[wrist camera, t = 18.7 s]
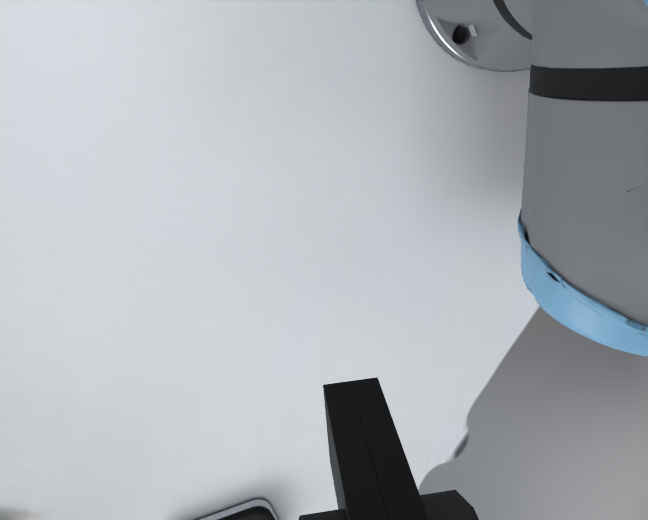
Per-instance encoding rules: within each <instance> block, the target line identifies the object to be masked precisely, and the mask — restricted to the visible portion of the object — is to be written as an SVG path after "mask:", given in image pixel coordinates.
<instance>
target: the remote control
mask: <svg viewBox="0 0 648 520" xmlns="http://www.w3.org/2000/svg"><path fill="white" fill-rule="evenodd" d="M199 520H278V518H277V516H276V515H275V513H274V511H273V509H272V508H271V506H270V504H269V503H268V502H266V501H265V500H261V499H256V500H252V501H249V502H247V503H244V504H241V505H238V506H235V507H233V508H230V509H227V510H224V511H222V512H219V513H216V514H213V515H210V516H208V517H205V518H202V519H199Z"/></svg>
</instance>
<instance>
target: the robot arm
mask: <svg viewBox="0 0 648 520" xmlns="http://www.w3.org/2000/svg"><path fill="white" fill-rule="evenodd" d="M416 3H417V6H418V9H419V12H420V15H421V17H422V19H423V22H424V23H425V25H426V27H427V29H428V31H429V32H430V34H431V35H432V36H433V38H434V39H435V40H436V42H437V43H438V44H439V45H440V46H441V47H442V48H443V49H444V50H445V51H446V52H447V53H449V54H450V55H451V56H453V57H454V58H456V59H457V60H459V61H461V62H463V63H465V64H467V65H470V66H473V67H476V68H479V69H485V70H492V71H502V72H511V71H520V70H526V69H530V68H531V70H530V88H529V93H528V112H527V132H526V151H525V166H524V180H523V194H522V208H521V210H520V214H519V218H518V231H519V235H520V238H521V270H522V276H523V279H524V282H525V284H526V287H527V289H528V290H529V291H530V292H531V293H532V294H533V295H534V297H535V299H536V300H537V302H538V304H539V305H540V306H541V307H542V308H543V309H544V310H545V311H546V312H547V313H548V314H549V315H551V316H552V317H553V318H555V319H556V320H557V321H559V322H560V323H562V324H563V325H565V326H566V327H568V328H570V329H571V330H573V331H575V332H577V333H578V334H580V335H583V336H585V337H587V338H589V339H591V340H593V341H596V342H598V343H601V344H604V345H606V346H609V347H612V348H615V349H618V350H622V351H625V352H629V353H633V354H637V355H643V356H648V0H416ZM323 388H324V399H325V410H326V421H327V432H328V443H329V454H330V463H331V469H332V474H333V480H334V486H335V491H336V497H337V503H338V509H339V510H333V511H327V512H320V513H314V514H308V515H301V516H300V517H299V520H479V519H478V517H477V515H476V513H475V510H474V508H473V507H472V506H471V505H470V504H469V503H468V502H467V501H466V500H465V499H464V498H463V497H462V496H461V495H460V494H459V493H458V492H457V491H456V490H451V491H445V492H438V493H432V494H426V495H419V492H418V490H417V487H416V484H415V481H414V478H413V476H412V473H411V470H410V467H409V464H408V462H407V459H406V456H405V453H404V450H403V448H402V445H401V442H400V439H399V437H398V434H397V431H396V428H395V425H394V423H393V420H392V417H391V414H390V411H389V409H388V406H387V403H386V400H385V398H384V395H383V392H382V389H381V386H380V384H379V381H378V378H370V379H363V380H356V381H349V382H341V383H334V384H327V385H323Z"/></svg>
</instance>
